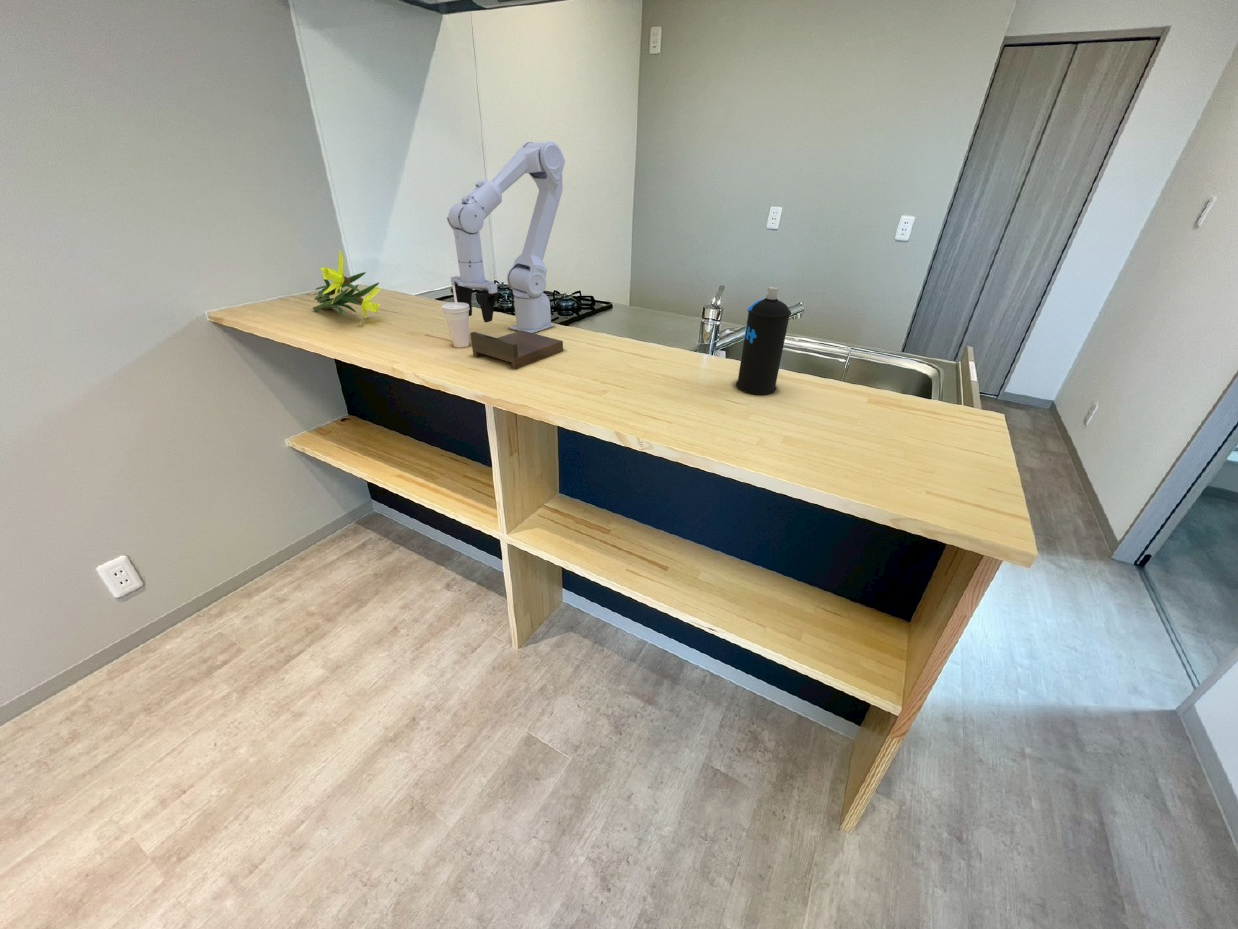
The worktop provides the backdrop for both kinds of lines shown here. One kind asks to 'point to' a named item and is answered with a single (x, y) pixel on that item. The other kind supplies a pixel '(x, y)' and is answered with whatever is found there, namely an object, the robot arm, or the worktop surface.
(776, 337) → the aerosol can
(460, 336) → the smoothie
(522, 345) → the shelf
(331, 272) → the daffodil flowers
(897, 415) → the worktop surface
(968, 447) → the worktop surface
